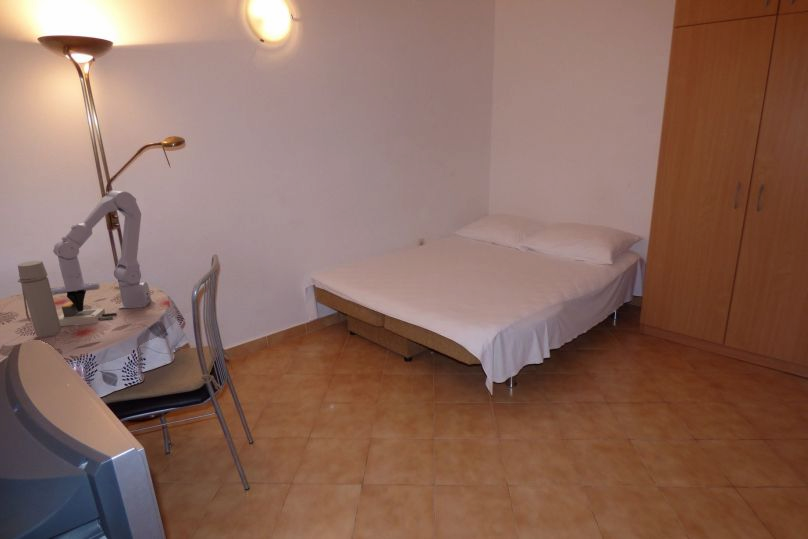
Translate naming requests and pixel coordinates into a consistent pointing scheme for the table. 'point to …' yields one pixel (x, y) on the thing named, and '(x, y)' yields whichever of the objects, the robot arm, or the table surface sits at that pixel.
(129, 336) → the table surface
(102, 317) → the cord
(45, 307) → the water bottle
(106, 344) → the table surface
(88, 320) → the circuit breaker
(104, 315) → the cord
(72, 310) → the knob
